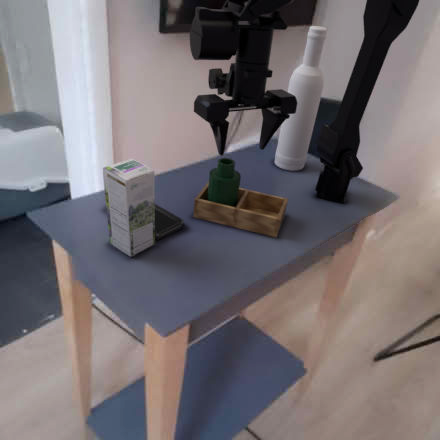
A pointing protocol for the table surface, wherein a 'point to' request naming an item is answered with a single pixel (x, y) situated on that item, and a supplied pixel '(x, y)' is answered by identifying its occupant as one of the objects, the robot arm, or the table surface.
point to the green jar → (224, 183)
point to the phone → (166, 223)
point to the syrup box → (130, 206)
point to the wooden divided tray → (244, 211)
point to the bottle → (302, 105)
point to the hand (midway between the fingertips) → (241, 151)
